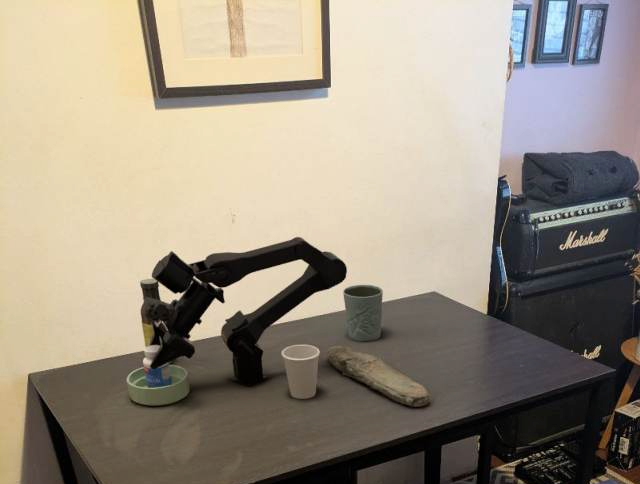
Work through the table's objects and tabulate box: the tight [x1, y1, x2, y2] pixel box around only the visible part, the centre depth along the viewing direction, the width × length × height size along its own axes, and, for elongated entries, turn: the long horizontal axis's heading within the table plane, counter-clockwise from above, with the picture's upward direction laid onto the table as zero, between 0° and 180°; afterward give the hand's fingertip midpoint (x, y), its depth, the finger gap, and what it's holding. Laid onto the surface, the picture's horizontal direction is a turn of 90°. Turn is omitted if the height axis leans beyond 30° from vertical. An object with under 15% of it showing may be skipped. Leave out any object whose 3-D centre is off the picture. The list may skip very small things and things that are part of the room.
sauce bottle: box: [139, 278, 174, 365], centre depth 182 cm, size 7×6×20 cm
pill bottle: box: [142, 345, 172, 388], centre depth 170 cm, size 6×5×10 cm
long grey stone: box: [325, 345, 430, 408], centre depth 178 cm, size 35×5×10 cm
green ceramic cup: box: [342, 284, 384, 342], centre depth 200 cm, size 10×10×12 cm
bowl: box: [126, 364, 191, 407], centre depth 172 cm, size 13×13×4 cm
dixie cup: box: [281, 344, 321, 400], centre depth 171 cm, size 8×8×10 cm
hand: (149, 363), depth 168 cm, fingers closed on pill bottle, 5 cm apart
